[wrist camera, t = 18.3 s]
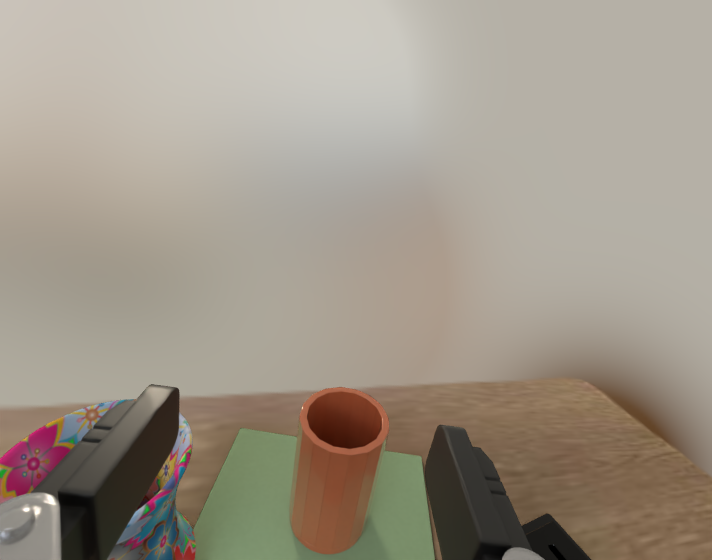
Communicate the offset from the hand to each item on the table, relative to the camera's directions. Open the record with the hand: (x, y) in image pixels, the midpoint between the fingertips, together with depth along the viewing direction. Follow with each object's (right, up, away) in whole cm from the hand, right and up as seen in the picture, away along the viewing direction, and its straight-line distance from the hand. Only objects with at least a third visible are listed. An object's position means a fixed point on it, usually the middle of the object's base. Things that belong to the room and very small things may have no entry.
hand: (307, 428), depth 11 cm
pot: (-1, -14, +18) cm, 23 cm away
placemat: (-1, -14, +18) cm, 23 cm away
